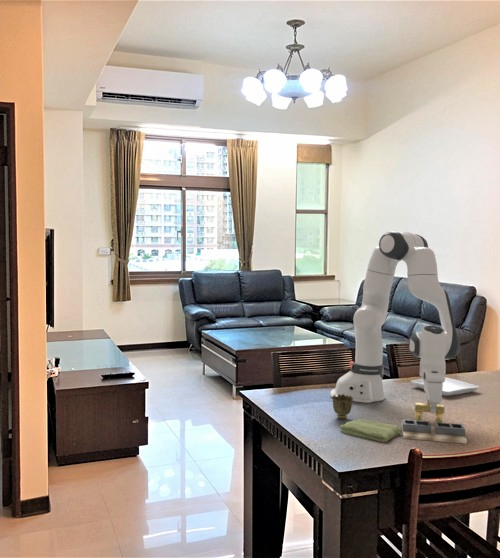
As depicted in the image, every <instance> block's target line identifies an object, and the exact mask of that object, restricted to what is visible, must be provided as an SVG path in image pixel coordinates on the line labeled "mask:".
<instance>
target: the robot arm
mask: <svg viewBox="0 0 500 558" xmlns="http://www.w3.org/2000/svg"><path fill="white" fill-rule="evenodd" d="M401 261H403V262H404V263H405V265H406V269H407V287H408V291H409V292H410V293H411V294H412V296H413V297H415V298H417V299H419V300H420V301H424V302H426V303H428V304H431V305H432V306H434V307H435V308H436V310H437V311H438V316H439V321H440V324H441V325H440V326H441V327H440V326H437V325H426V326H423V327H422V329H421V331H417V332H413V334H411V336H409V339H408V352H410V354H412V356H414V357H415V358H420V361H419V376H420V377H422V379H423V380H424V389H423V390H424V393H425V395H426V404H430V412H431V413H430V412H429V413H430V414H433V415H435V414H436V407H437V404H440V405H441V402H442V397H443V395H442V388H443V382H445V377H446V360H445V359H447V360H452V359H454V358H455V357H457V356H458V355H459V353H460V352H461V340H460V337H459V335H458V332H457V328H456V323H455V319H454V318H455V317H454V314H453V309H452V304H451V302H450V297H449V294H448V292H447V291H446V290H445V289H443V288H442V286H441V284H440V281H439V273H438V264H437V259H436V254H435V252H434V251H433V249H431V248H429V244H428V241H427V240H426V239H425V238H424V236H422V235H419V234H416V233H412V232H408V231H397V230H392V231H387V232H385V233H383V234H382V235H381V237H380V238H379V242H378V245H377V246H375V247H374V249H373V252H372V253H371V256H370V259H369V262H368V265H367V270H366V273H365V277H364V283H363V286H362V289H363V292H362V300H361V301H362V302H361V305H360V307H359V308H357V310H356V311H355V312H354V314H353V318H352V320H353V322H352V323H353V333H354V338H355V340H354V341H355V357H354V361H353V360H352V361H350V362H349V363H348V364H349V371H348V372H346V373H345V374H344V375H342V376H340V377H339V378H338V379H337V381H336V385H335V388H332V389H331V391H330V393H329V396H330V397H331V398H332V396H334V395H335V396H337V397H338V394H340V395H342V394H344V395H345V396H347V395H348V397H349V396H352V398H353V401H352V402H357V403H358V402H359V403H366V404H370V403H374V402H381V401H384V400H385V399H386V395H385V391H384V385H383V378H384V363H383V358H384V357H383V353H384V350H383V349H384V344H383V337H382V336H383V335H382V326H383V325H384V324H385V322H386V320H387V315H388V310H389V302H390V295H391V291H392V286H393V283H394V278H395V273H396V269H397V265H398V264H399V262H401Z"/></svg>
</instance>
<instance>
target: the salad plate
mask: <svg viewBox="0 0 500 558" xmlns="http://www.w3.org/2000/svg"><path fill="white" fill-rule="evenodd" d="M410 383H411V384H412V385H413V386H415V387H417V388H420V389H421V388H422V390H424V380H423V378H419V379H414V380H413V379H412V380H410ZM479 388H480V386H478V385H476V384H472V383H470V382H469V383H468V382H465V381H462V380H458V379H455V378H454V379H453V378H451V377H446V376H445V382H443V388H442V396H445V397H451V396H455V395H456V396H457V395H462V394H467V393H472V392H475V391H476V390H478V389H479Z"/></svg>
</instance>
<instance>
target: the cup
mask: <svg viewBox="0 0 500 558" xmlns="http://www.w3.org/2000/svg"><path fill="white" fill-rule="evenodd" d="M331 398H332V409H333V411H334V413H335V414H336V417H337V418H338V419H340V420H346V419H347V418H348V415H350V413H351V411H352V407H353V402H354V401H353V398H352V396H349V397H348V395H347V396H345V395H344V394H342V395H340V394H338V397H337V396H335V395H334V396H332V397H331Z"/></svg>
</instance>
